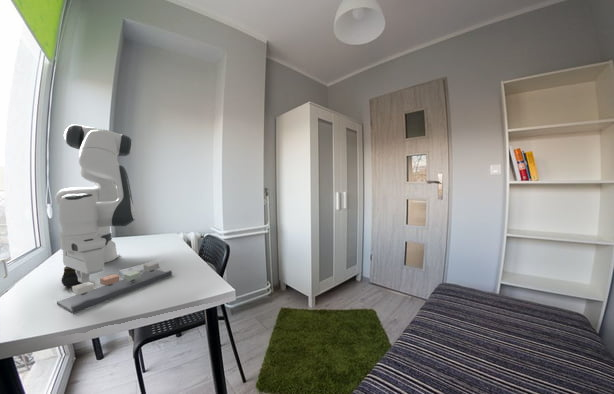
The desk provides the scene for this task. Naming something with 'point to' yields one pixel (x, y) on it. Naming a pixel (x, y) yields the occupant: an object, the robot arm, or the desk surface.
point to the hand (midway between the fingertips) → (83, 281)
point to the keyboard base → (111, 291)
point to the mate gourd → (70, 277)
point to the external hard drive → (133, 269)
